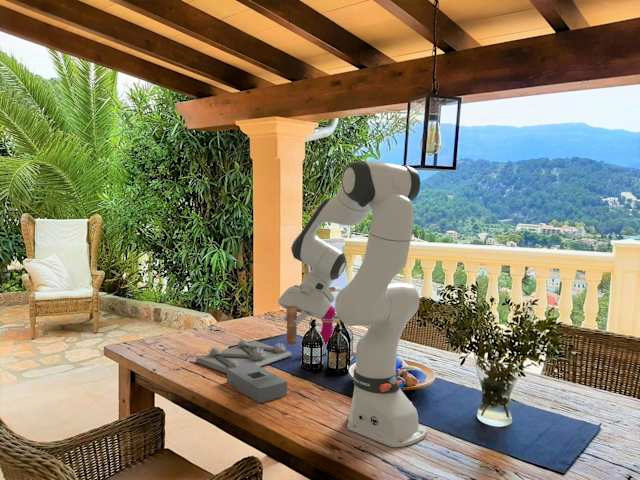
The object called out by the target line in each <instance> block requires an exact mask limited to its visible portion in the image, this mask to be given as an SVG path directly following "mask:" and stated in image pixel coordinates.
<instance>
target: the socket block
mask: <svg viewBox="0 0 640 480" xmlns="http://www.w3.org/2000/svg"><path fill="white" fill-rule="evenodd" d="M226 379H227V380H226V383H227V384H229V385H230V386H232V387H233V388H235V389H236V390H238V391H240V392H242V393H243V394H244V395H246V396H247V397H248V398H250V399H252V400H254V401H255V402H256V403H258V404H261V403H265V402H269V401H273V400H276V399H280V398H284V397H286V396H288V381H287V380H285V379H283V378H281V377H280V376H278V375H276V374H274V373H272V372H271V371H269V370H267V369H265V368H264V367H260V366H258V365H256V364H254V363H252V364H248V365H243V366H239V367H234V368H230V369H227V374H226Z"/></svg>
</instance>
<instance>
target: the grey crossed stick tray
mask: <svg viewBox="0 0 640 480" xmlns="http://www.w3.org/2000/svg"><path fill="white" fill-rule="evenodd" d="M286 347H287V345H285V343H280V342H278V343H274V344H273V346H272V345H269V344H267V343H264V342H259V341H257V340H253V341H250V342H249V341H248V339H245V338H243V337H242V339H240V338H239V340H238V342H237V346H232V347H229V348H226V349H223V350H222V349H220V348H219V346H216V345H214V346H211V347H210V349H209V353H208V354H206V355H205V354H204V355H202V356H199V357H197V358H196V359H195V363H196V364H198V365H199V364H200V365H202V366H205V367H207V368H210V369H212V370H215V371H217V372H220V373H222V374H225V375H227V369H230V368H234V367H239V366H243V365H248V364H252V363H254V364H256V365H258V366H260V367H261V368H264V367H265V366H268V365H271V364H273V362H274V363H276V361H277V362H280V361H282V359H283V360H285V359H288V358H291V357H292V355H293V354H292V352H291V351H289V350H287V348H286ZM279 360H280V361H279Z"/></svg>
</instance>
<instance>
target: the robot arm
mask: <svg viewBox="0 0 640 480" xmlns="http://www.w3.org/2000/svg"><path fill="white" fill-rule="evenodd" d="M339 186H340V187H339V189H338V192H337V193H336V195H335V196H334V197H332V198H331V197H330V198H326V199H324V200H323V201H322V202H321V204H319V205H318V207H317V208H316V209H315V211H314V213H313V214H312V215H311V216H310V218H309V220H308V222H307V223H306V225H305V226H304V227H303V228H302V231H301V232H300V234H298V235H297V236H296V238H294V241H293V242H292V245H291V247H290V250H291V253H292V256H293V259H295V260H297V261H299V262H302V263H304V264H306V265H307V266H309V267H310V268H312V269H311V270H310V271H309V272H308V273H307V274H306V276H305V277H304V278H303V280H302V282H301V283H300V284H299V285H298V284H294V285H292V286H290V287H288V288H287V289H286V290H285V291H284V292H283V294H281V296H280V297H279V298H278V305H279V306H280V307H281V308H282V309H284V310H286V311H285V314H284V317H283V320H284V321H285V322H287V307H288V306H296V307H297V314H298V313H299V315H297V317H295V318H294V319H293V323H294V324H296V325H297V326H298V325H299V324H300V323H301V321H303V320H305V319H306V318H308V317H311V318H312V317H313V318H316V319H321V318H322V317H324V315H325V314H326V313H327V311H328V309H329V308H330V306H332V303H333V302H334V301H335V303H334V308H335V314H336V315H337V317H338V319H339V320H340V321H341V322H342V323H343V324H344V325H348V326H356V327H357V326H358V327H362V326H369V325H370V326H369V329H368V330H367V331H366V332H365V333H364V334H363V335H362V336H361V337H360V338H359V339H358V340H357V341H358V342H357V343H356V346H355V347H356V348H355V349H356V351H355V368H354V370H353V379H352V380H353V384H354V388H353V392H352V394H353V395H352V398H351V405H350V411H349V413H348V416H347V421H348V422H347V424H346V425H347V426H346V429H347V430H349V431H351V432H354V433H357V434H359V435H361V436H363V437H366V438H369V439H371V440H373V441H375V442H378V443H381V444H382V445H385V446H387V447H390V448H401V447H406V445H407V446H410V445H412V444H415V443H418V442H420V441H421V440H423V439H425V438H426V436H427V434H428V429H427V428H426V427H424V426H423V425H421V424H420V423H419V414H418V411H417V408H416V407H415V406H414V405H413V402H412V401H411V400H409V398H408V397H407V396H406V394H405V393H404V392H403V391H402V389H401V385H402V384H403V383H404V382H403V381H404V379H399V376H398V372H397V358H398V357H397V356H398V355H397V354H398V346H399V342H400V340H401V338H402V337H401V336H402V333H403V332H404V329H405V327H406V326H407V324H408V323H409V321H410V320H411V318H412V317H414V316H415V314H417V312H418V310H419V308H420V294H419V293H418V290H417V289H416V287H415V286H414V285H413V284H412V283H409V282H404V281H397V280H395V281H393V279H394V278H396V276H397V275H398V274H400V273H401V272H403V270H404V269H405V268H406V265H407V262H408V261H407V260H408V256H409V255H408V254H409V251H410V245H411V240H412V235H413V233H412V232H413V226H414V225H413V224H414V205H413V202H412V201H414V200H415V199H416V198H417V197H418V195H419V192H420V188H421V178H420V174H419V172H418V171H417V170H416V169H415V168H414V167H411V166H409V165H404V164H396V163H390V162H385V161H364V160H357V161H353V162H350V163H349V164H348V165H347V166H346V167H345V169H344V170H343V173H342V178H341V184H340V185H339ZM370 212H371V213H372V215H371V221H370V224H369V225H370V226H369V233H368V237H367V242H366V243H367V244H366V248H365V252H364V256H363V260H362V262H361V265H360V267H359V269H358V270H357V271H356V274H355V275H354V276H353V278H352V280H351V281H350V282H349V283H348V284H347V285H346V286H344V287H343V288H342V289H341V290H339V292H338V293H337V296H336V297H335V296H334V295H333V293H332V292H331V291H330V288H331V284H333V282H334V281H336V280H337V279H339V278H340V276H341V275H342V273H343V272H344V270H345V269H346V267H347V258H346V255H345V252H343V251H342V249H340V248H337V247H335V246H334V245H332V244H330V243H328V242H326V241H325V240H323V239H321V238H320V237H319V236H318V235H317V232H318V231H319V229H320V228H321V226H322V225H323V223H331V224H337V225H341V226H346V227H347V226H348V227H349V226H355V225H358V224H361V223H362V222H363V221H365V220H366V218H367V216H368V215H369V213H370Z"/></svg>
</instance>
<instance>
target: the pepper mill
mask: <svg viewBox="0 0 640 480" xmlns="http://www.w3.org/2000/svg"><path fill="white" fill-rule="evenodd" d="M335 315H336V310H335V306H333V305H331V306H330V308H329V309H328V311H327V313H326V314H325V315H324V317H322V318H320V319H321V321H320V322H322V327H321V331H320V332H319V334H321V335H322V336H323V339H324V342H325V344H327V342H328V340H329V338H330V336H331V334H332V332H333V331H334V328H333V322H334V321H335V318H334V317H335Z"/></svg>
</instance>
